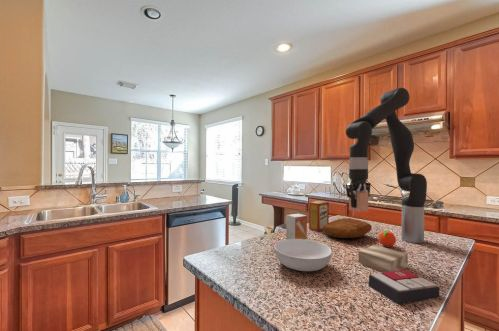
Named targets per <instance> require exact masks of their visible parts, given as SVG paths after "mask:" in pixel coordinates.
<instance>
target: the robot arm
mask: <svg viewBox="0 0 499 331" xmlns="http://www.w3.org/2000/svg"><path fill="white" fill-rule="evenodd" d="M409 102H410V93H409V91H408V89H407V88H405V87H398V88H395V89H392V90H391V89H390V90H388V91H386V92H383V93H382V94H381V96H380V104H378V105H377V106H375V107H373V108H371V109H370V110H369V111H368V112H366V113H365V114H364V115H363V116H361V117H360V118H357V119H356V120H354V121H351V123H349V124H348V125H347V126H346V128H345V135H346V137H347V138H348V139H350V140H357V142H355V143H354V144H351V145H350V147H349V160H348V161H349V162H348V164H349V165H348V166H349V167H348V170H349V171H348V178H349V179H350V183H345V189H346V190H345V191H346V197H347V198H348V199H349V198H351V207H353V208H356V207H357V199H356V198H357V194H358V193H359V192H368V197H370V193H371V186H372V184H371V182H367V180H368V179H369V161H368V160H369V159H368V148H369V144H370V140H371V137H372V133H373V129H374V128H376V127H377V125H379V124H380V123H381V122H382V121H383V120H385V121H386V125H387V129H388V133H389V139H390V144H391V148H392V151H393V152H392V153H393V156H394V157H393V158H394V162H395V170H396V171H395V172H396V178H397V185H398V187H399V189H400V190H402V191H405V192H409V193H408V194H409V195H408V196H407V197H406V198H402V199H401V240H403V241H405V242H408V243H412V244H423V243H425V203H426V201H427V190H428V181H427V178H426V176H425V175H424V174H422V173H412V172H411V166H410V162H411V158H412V156H413V152H414V150H415V143H414V137H413V134H412V133H413V132H412V131H411V130H410V129H409V127H407V126H406V125H405V124H404V123H403V122H402V121H401V120H400V119H399V118H398V114H397V112H396V111H398V110H399V109H401V108H404V107H405V106H406V105H408V103H409ZM355 191H356V192H355ZM349 192H350V193H351V195H350V193H349ZM354 193H355V195H354Z"/></svg>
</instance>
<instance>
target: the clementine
mask: <svg viewBox="0 0 499 331" xmlns="http://www.w3.org/2000/svg"><path fill="white" fill-rule="evenodd" d="M378 240H379V243H380V244H381V245H382V246H383V247H385V248H387V247H388V248H390V247H393V246H394V245H395V244H396V242H397V239H396V235H395V234H394V233H392V232H391V231H388V230H384V231H382V232H380V233H379V235H378Z"/></svg>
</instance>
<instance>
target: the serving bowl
mask: <svg viewBox="0 0 499 331" xmlns="http://www.w3.org/2000/svg"><path fill="white" fill-rule="evenodd" d="M273 249H274V250H273V251H274V254H275V257H276V259H277V260H278V261H279V263H281V264H282V265H283V266H285V267H287V268H289V269H290V270H291V269H292V270H296V271H301V272H316V271H319V270H321V269H323V268H325V267H327V266H328V264H329V263H330V261H331V259H332V253H333V251H332V249H331V247H330V246H328V245H327V244H325V243H322V242H319V241H316V240H312V239H307V240H306V239H287V240H286V239H282V240H280V241H279V240H278V241H277V242H276V243H275V244H274V246H273Z"/></svg>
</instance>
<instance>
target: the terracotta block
mask: <svg viewBox="0 0 499 331" xmlns="http://www.w3.org/2000/svg"><path fill="white" fill-rule="evenodd" d="M355 192H356V191H355ZM349 193H350V192H349ZM350 195H351V193H350ZM354 195H355V193H354ZM356 199H357V207H356V208H353V207H351V198H349V197H348V210H349V211H353V212H359V213H361V212H362V213H363V212H369V196H368V192H359V193H358V194H357V198H356Z"/></svg>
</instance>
